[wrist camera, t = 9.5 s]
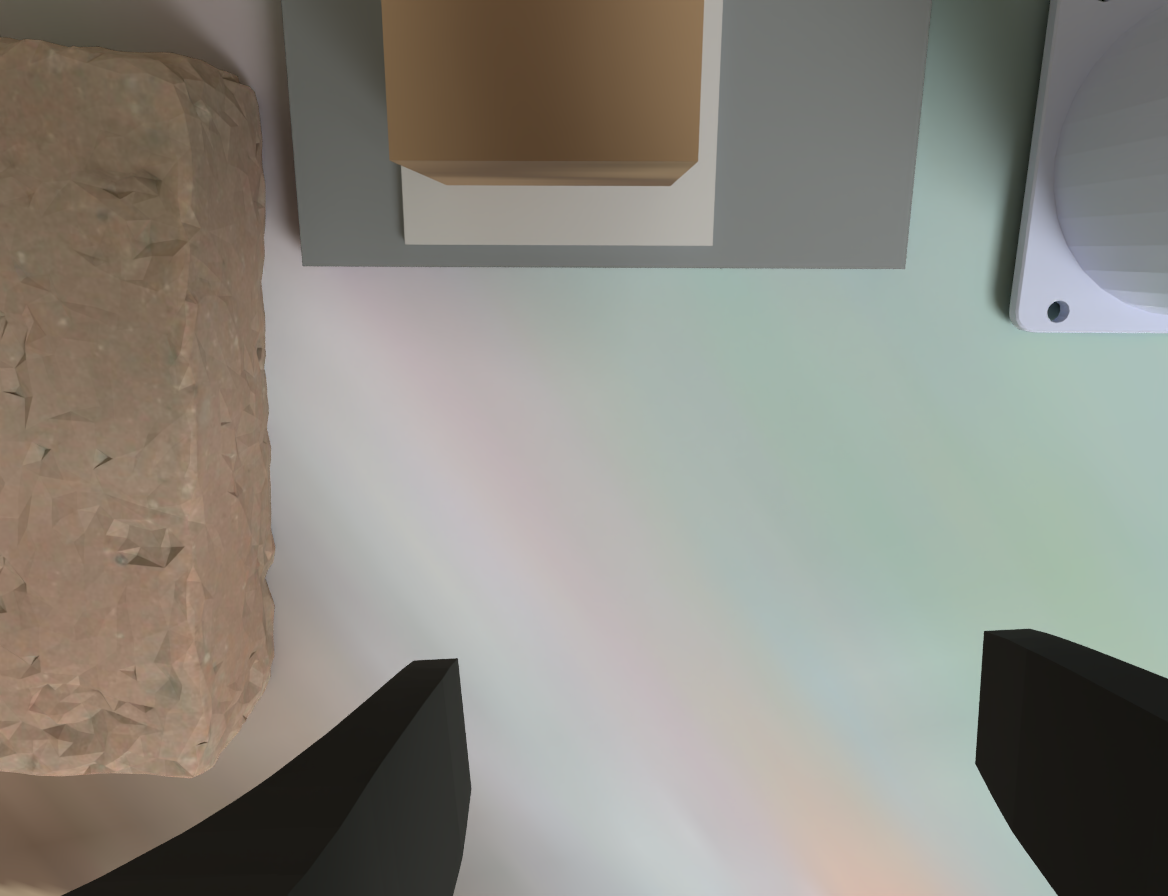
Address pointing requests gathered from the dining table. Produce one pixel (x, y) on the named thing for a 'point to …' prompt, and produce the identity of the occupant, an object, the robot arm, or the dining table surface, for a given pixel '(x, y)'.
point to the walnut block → (544, 90)
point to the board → (744, 142)
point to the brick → (130, 412)
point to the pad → (580, 195)
